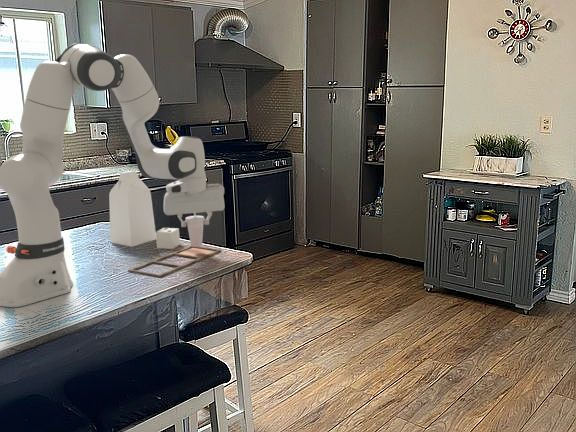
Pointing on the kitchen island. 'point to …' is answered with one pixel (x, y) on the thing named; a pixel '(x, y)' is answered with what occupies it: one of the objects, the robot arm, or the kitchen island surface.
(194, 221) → the smoothie
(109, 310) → the kitchen island surface
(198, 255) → the board
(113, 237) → the milk
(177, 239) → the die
